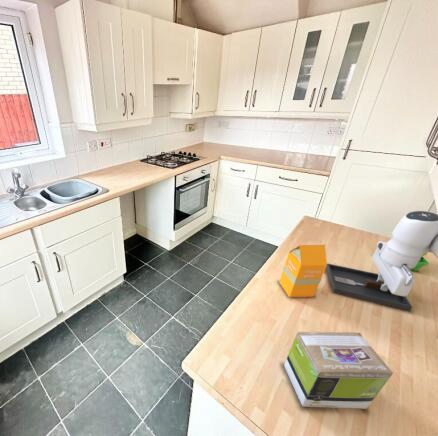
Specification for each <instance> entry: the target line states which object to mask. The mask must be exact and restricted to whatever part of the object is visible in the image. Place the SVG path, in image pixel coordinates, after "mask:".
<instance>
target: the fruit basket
mask: <svg viewBox="0 0 438 436" xmlns="http://www.w3.org/2000/svg"><path fill="white" fill-rule="evenodd" d="M428 253H429V252H425V253H424V254H423V256H422V257H421V259H420V260H419V262H418V263H417V265H416V266H415V267H414V268H411V269H410V271H415V272H417V271H419V270H420V269H421V268H424V266H426V265H428V264H430V263H429V261H428V260H427V259H425V258H424V257H425V256H427V254H428Z"/></svg>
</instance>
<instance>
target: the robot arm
mask: <svg viewBox="0 0 438 436" xmlns="http://www.w3.org/2000/svg"><path fill="white" fill-rule="evenodd" d="M376 246H377V247H376V249H375V251H374V253H373V255H372V263H373V264H374V265H375V267H376V269H377V271H378V273H377V274H378V280H377V281H378V282H383V283H384V284H381V285H380V289H381V290H382V291H387V290H388V289H389V290H390V291H391V293H392V294H394V295H398V296H406V297H407V296H408V295H409V294H410V292H411V290H412V288H413V287H414V284H415V279H416V278H415V276H414V274H413V273H414V272H413V270H410V269H411V268H414V267H415V266H416V265H417V263H418V262H419V260H420V259H421V257H424V256H423V254H424V253H425V252H428V253H431V254H433V255H434V256H435V257H436V258H437V259H438V214H437V213H434V212H430V211H425V210H414V211H410V212H407V213H406V214H405V215H404V216H402V217H401V218H400V220H399V221H398V223H397V224H396V226H395V227H394V229H393V231H392V233H391V237H390V239H389V240H388V241H381V240H379V241H378V243H377V245H376Z"/></svg>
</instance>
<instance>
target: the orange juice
mask: <svg viewBox="0 0 438 436" xmlns="http://www.w3.org/2000/svg"><path fill="white" fill-rule="evenodd" d="M326 250H327V249H326V244H302V245H301V244H300V245H298V246H296V247H295V248H292V250H290V251H289V252H288V253H287V257H286V260H285V264H284V265H283V269H282V273H281V276H280V278H279V284H280V285H281V287H282V288H283V290H284V291H285V293H286V294H287V296H288V298H305V297H306V298H307V297H308V298H309V297H315V294H316V292H317V290H318V287H319V285H320V284H321V281H322V278H323V276H324V273H325V271H326V267H327V263H328V262H327V261H328V260H327V253H326Z"/></svg>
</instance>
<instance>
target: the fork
mask: <svg viewBox="0 0 438 436" xmlns="http://www.w3.org/2000/svg"><path fill="white" fill-rule="evenodd" d="M334 280H335V281H336V282H340V283H345V284H348V285H353V286H356V285H359V286H363V287H366V288H370V289H374V290H379V291H382V290H381V289H380V285H381V284H384V283H383V282H378V281H374V280H369V279H367V280H366V281H365V283H364V284H361V283H356V282H354V280H349V279H344V278H340V277H335V276H334ZM383 292H388V293H391V291H390V290H389V289H388V290H387V291H383Z"/></svg>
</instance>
